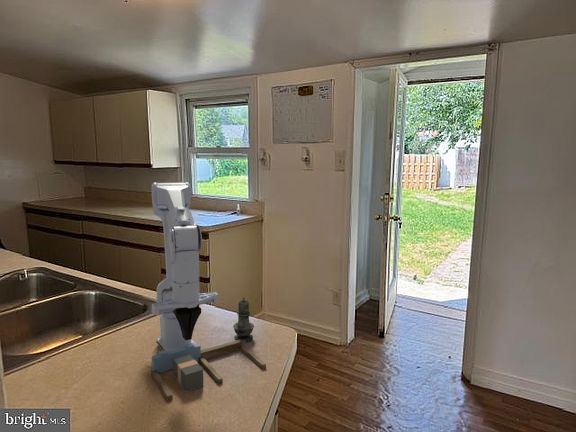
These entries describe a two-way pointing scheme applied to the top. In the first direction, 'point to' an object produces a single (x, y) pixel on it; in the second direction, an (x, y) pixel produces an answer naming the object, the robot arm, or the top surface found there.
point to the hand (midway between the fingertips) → (187, 338)
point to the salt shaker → (243, 323)
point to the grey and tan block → (188, 373)
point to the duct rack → (165, 360)
